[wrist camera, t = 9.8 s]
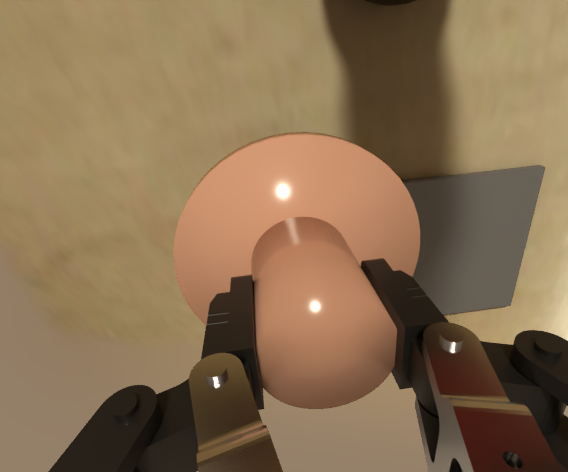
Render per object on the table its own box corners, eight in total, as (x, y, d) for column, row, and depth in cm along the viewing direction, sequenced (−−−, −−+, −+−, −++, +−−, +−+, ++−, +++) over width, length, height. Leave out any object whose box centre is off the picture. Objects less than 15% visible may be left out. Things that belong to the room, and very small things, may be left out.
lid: (420, 117, 13) (548, 151, 7) (405, 326, 17) (477, 444, 12) (147, 149, 12) (72, 211, 7) (204, 356, 17) (184, 493, 11)
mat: (539, 165, 29) (545, 167, 28) (506, 302, 35) (510, 305, 34) (350, 187, 28) (352, 189, 27) (350, 323, 34) (352, 327, 33)
